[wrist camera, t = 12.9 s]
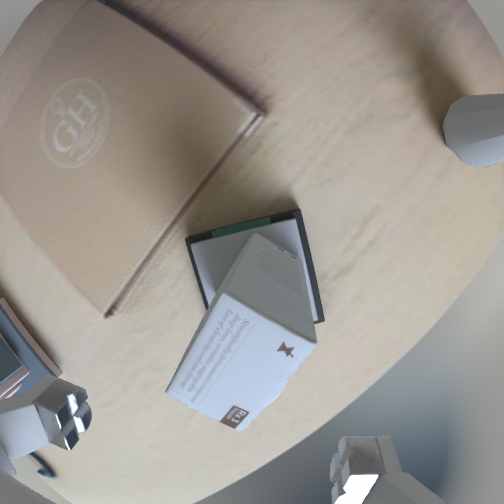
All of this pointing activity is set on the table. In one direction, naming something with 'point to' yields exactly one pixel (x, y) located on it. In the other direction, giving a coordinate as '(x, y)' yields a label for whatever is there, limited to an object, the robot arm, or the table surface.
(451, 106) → the salt shaker
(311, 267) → the scale
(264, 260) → the cosmetic box
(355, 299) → the table surface
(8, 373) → the desk lamp
